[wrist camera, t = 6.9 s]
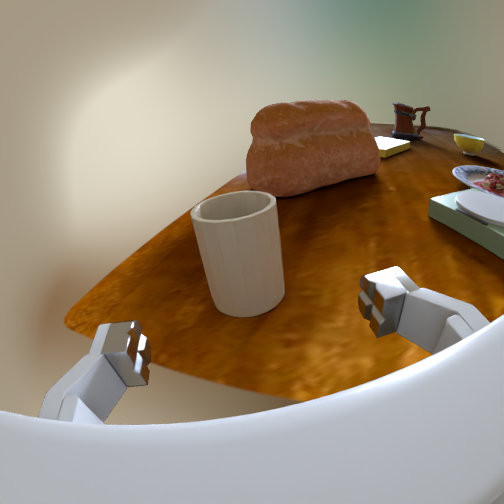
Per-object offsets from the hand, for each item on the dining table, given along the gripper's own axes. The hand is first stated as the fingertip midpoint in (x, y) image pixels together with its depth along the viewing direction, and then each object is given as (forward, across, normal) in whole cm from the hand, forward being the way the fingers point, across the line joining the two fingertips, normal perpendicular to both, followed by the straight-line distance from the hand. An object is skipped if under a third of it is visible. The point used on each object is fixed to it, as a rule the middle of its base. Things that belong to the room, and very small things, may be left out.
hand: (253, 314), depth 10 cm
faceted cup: (+12, 0, -8) cm, 15 cm away
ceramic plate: (+22, +52, -8) cm, 58 cm away
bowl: (+56, +80, -8) cm, 98 cm away
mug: (+87, +78, -8) cm, 117 cm away
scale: (+13, +33, -8) cm, 36 cm away
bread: (+42, +18, -8) cm, 46 cm away
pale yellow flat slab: (+66, +49, -8) cm, 82 cm away
